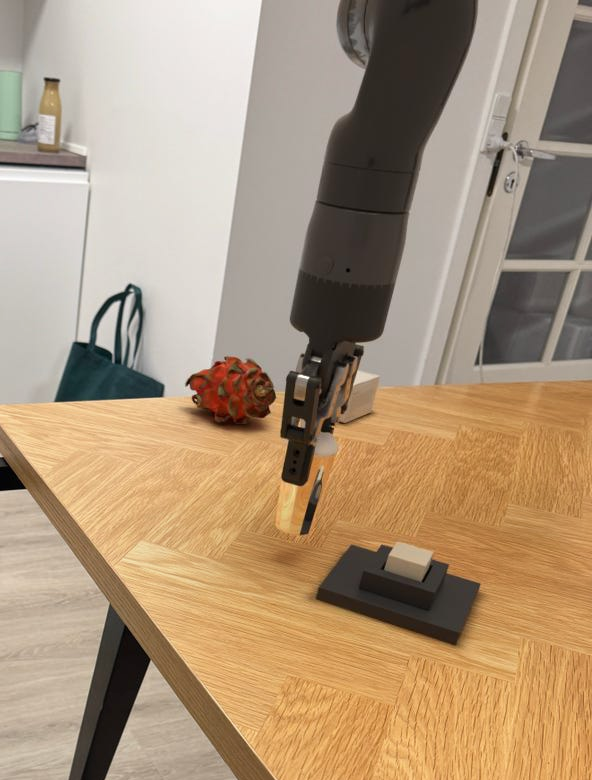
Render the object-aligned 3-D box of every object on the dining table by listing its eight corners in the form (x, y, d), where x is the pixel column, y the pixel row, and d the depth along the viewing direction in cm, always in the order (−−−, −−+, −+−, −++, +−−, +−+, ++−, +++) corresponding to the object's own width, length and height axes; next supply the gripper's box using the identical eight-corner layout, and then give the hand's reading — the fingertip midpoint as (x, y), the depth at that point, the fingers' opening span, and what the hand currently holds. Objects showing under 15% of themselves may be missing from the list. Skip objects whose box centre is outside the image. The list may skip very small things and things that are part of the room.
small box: (372, 412, 121) (382, 375, 118) (344, 424, 116) (353, 385, 113) (323, 396, 125) (331, 360, 122) (293, 407, 120) (301, 369, 117)
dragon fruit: (272, 446, 111) (184, 436, 116) (292, 392, 114) (205, 385, 119) (260, 401, 104) (167, 392, 109) (282, 345, 107) (190, 339, 112)
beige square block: (428, 569, 78) (434, 551, 77) (420, 584, 75) (426, 565, 74) (392, 558, 79) (397, 540, 78) (383, 572, 76) (388, 554, 75)
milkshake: (304, 514, 84) (328, 411, 79) (325, 539, 80) (352, 432, 75) (258, 513, 83) (280, 409, 78) (277, 539, 79) (301, 430, 74)
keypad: (477, 594, 80) (487, 565, 78) (455, 645, 73) (467, 614, 71) (348, 555, 84) (355, 526, 83) (315, 598, 77) (323, 568, 75)
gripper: (371, 292, 63) (319, 513, 72) (416, 265, 73) (366, 460, 83) (271, 273, 65) (233, 488, 75) (329, 250, 76) (289, 440, 85)
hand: (303, 472), depth 79 cm, fingers closed on milkshake, 4 cm apart
